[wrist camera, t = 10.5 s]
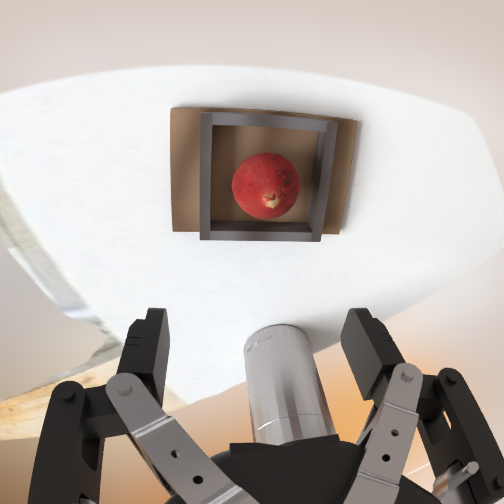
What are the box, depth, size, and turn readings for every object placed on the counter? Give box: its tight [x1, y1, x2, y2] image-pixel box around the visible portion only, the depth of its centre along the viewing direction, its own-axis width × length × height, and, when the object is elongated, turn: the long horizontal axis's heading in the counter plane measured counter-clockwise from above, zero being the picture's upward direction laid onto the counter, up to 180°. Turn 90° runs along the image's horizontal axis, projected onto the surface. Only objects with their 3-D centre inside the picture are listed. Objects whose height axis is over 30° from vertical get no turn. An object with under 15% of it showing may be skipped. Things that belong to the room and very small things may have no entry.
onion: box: [232, 152, 300, 220], centre depth 27 cm, size 6×6×8 cm
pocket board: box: [170, 108, 357, 242], centre depth 30 cm, size 18×13×4 cm
